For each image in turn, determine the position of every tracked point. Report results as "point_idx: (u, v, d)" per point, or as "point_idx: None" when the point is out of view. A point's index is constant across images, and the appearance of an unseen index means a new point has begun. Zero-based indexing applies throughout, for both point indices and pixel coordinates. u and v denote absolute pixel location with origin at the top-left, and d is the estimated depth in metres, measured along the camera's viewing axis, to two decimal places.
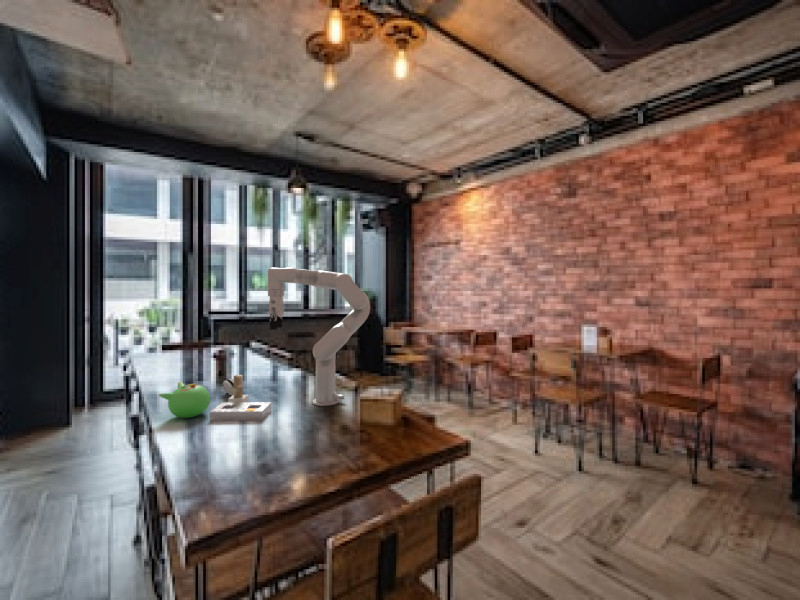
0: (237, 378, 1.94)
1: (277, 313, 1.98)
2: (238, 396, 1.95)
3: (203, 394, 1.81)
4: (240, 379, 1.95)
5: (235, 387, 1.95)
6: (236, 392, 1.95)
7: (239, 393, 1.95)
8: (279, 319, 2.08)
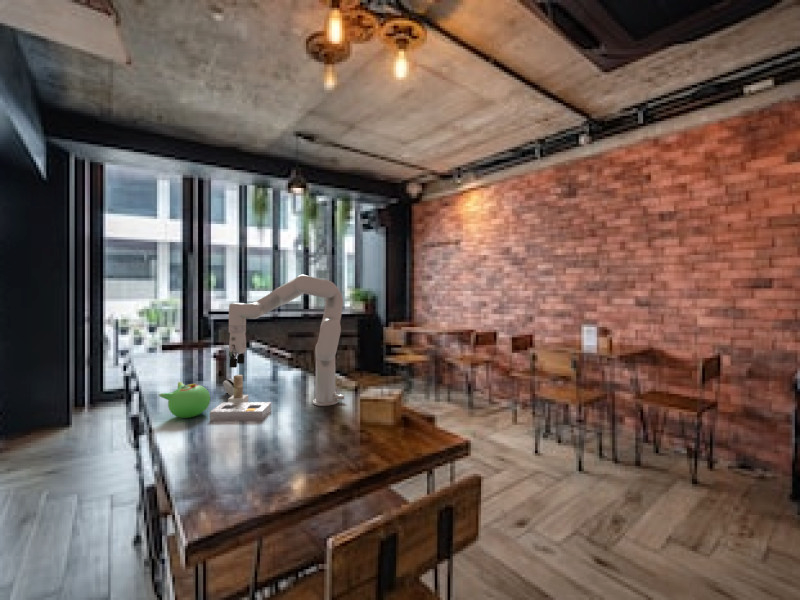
0: (237, 378, 1.94)
1: (237, 350, 1.91)
2: (238, 396, 1.95)
3: (203, 394, 1.81)
4: (240, 379, 1.95)
5: (235, 387, 1.95)
6: (236, 392, 1.95)
7: (239, 393, 1.95)
8: (241, 355, 2.01)
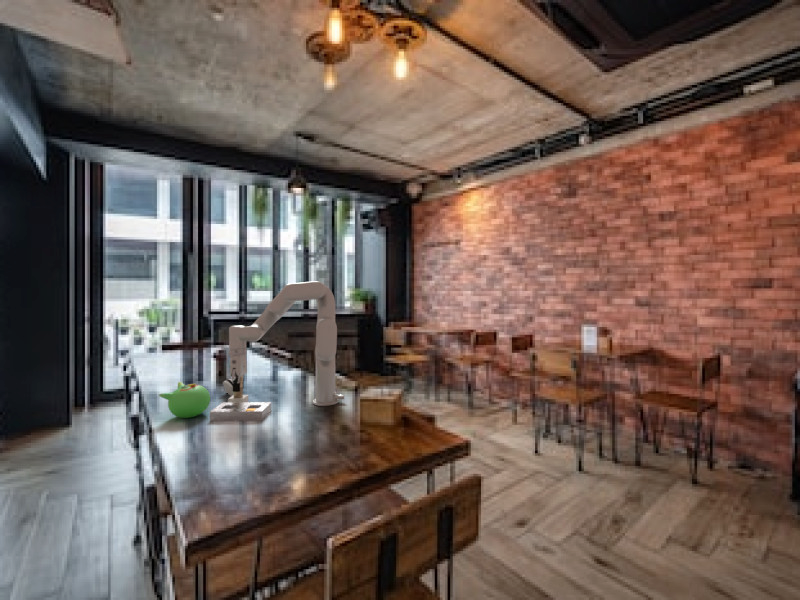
0: None
1: (238, 373, 1.91)
2: (238, 396, 1.95)
3: (203, 394, 1.81)
4: (240, 379, 1.95)
5: None
6: (236, 392, 1.95)
7: (239, 393, 1.95)
8: None
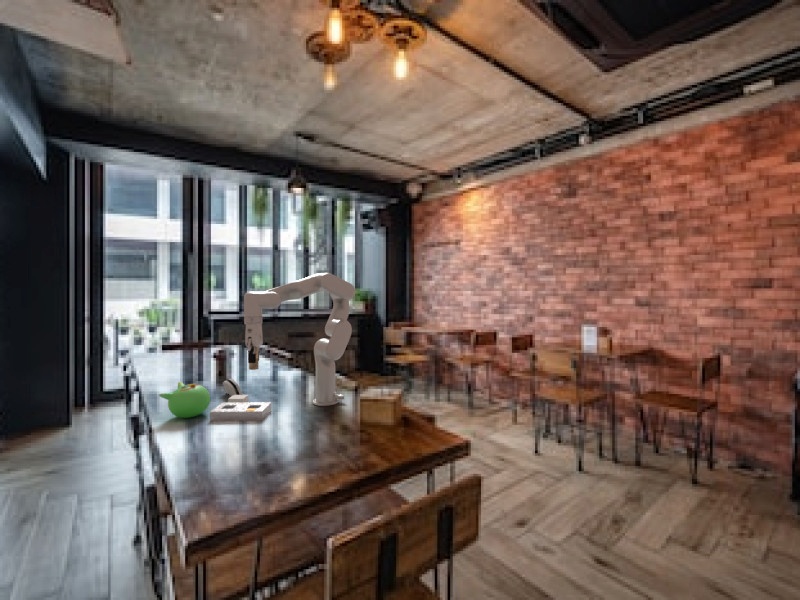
0: (252, 348, 1.81)
1: (254, 343, 1.78)
2: (254, 368, 1.82)
3: (203, 394, 1.81)
4: (256, 350, 1.82)
5: None
6: (251, 363, 1.82)
7: (254, 364, 1.82)
8: None
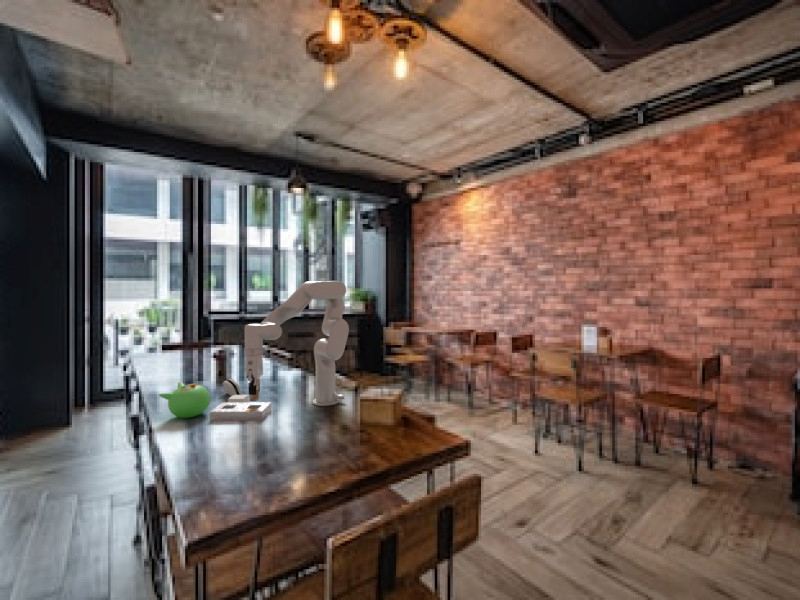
0: (253, 380, 1.82)
1: (255, 375, 1.79)
2: (254, 399, 1.82)
3: (203, 394, 1.81)
4: (256, 381, 1.83)
5: None
6: (252, 395, 1.82)
7: (255, 396, 1.82)
8: None
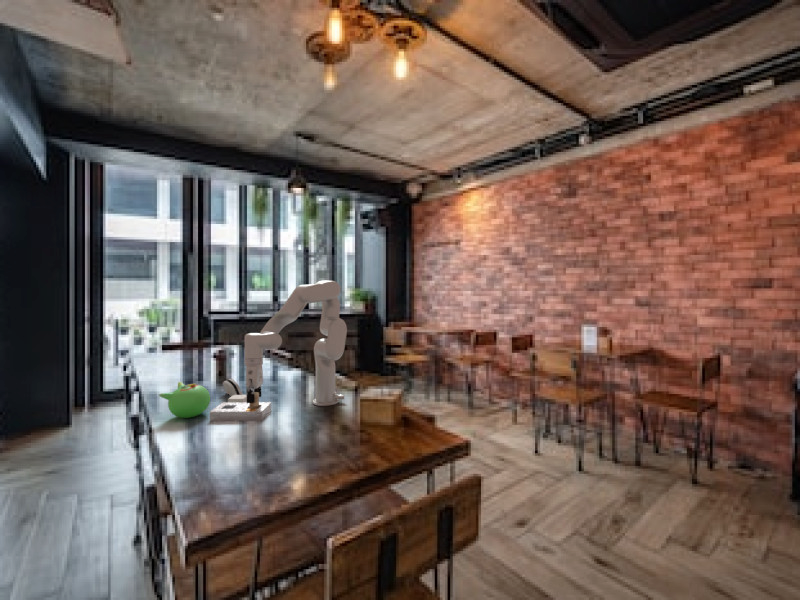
0: None
1: (255, 385, 1.79)
2: None
3: (203, 394, 1.81)
4: (256, 397, 1.83)
5: (251, 405, 1.82)
6: None
7: None
8: (258, 388, 1.89)
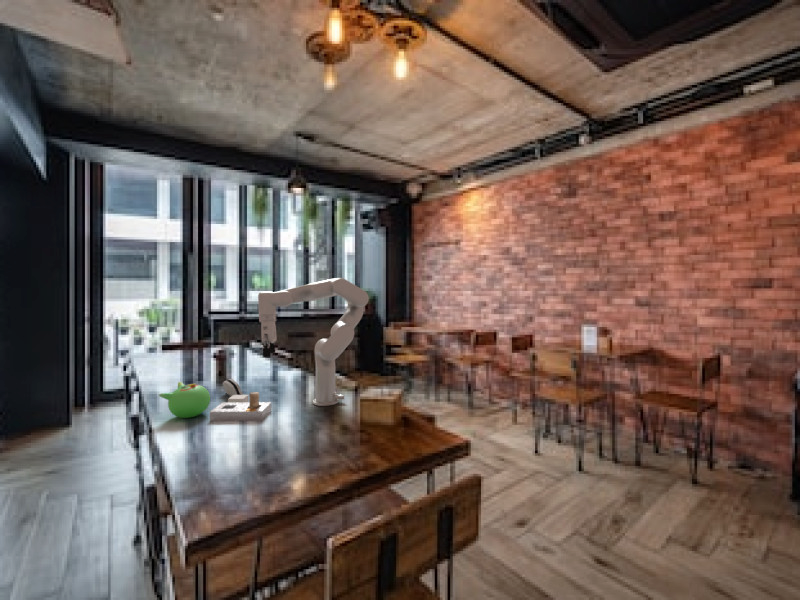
0: (253, 396, 1.82)
1: (270, 340, 1.89)
2: None
3: (203, 394, 1.81)
4: (256, 397, 1.83)
5: (251, 405, 1.82)
6: None
7: None
8: (272, 344, 1.98)
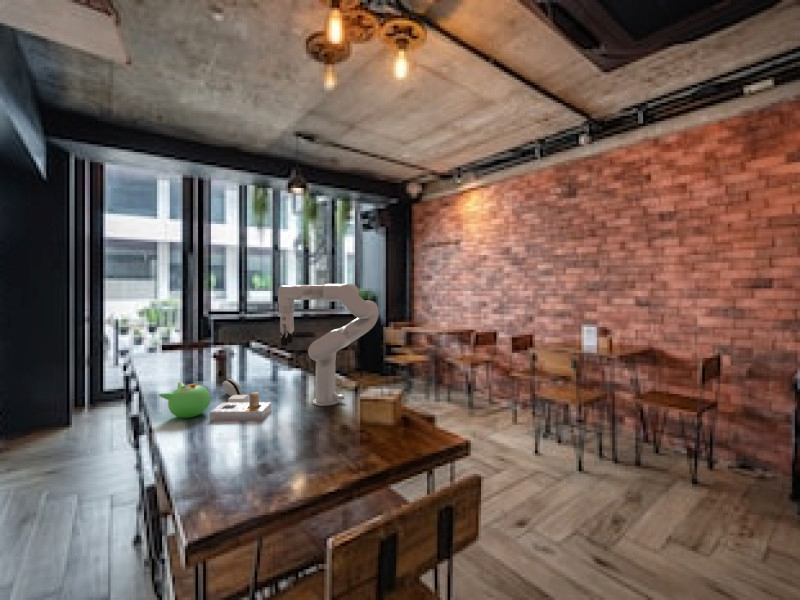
0: (253, 396, 1.82)
1: (288, 330, 2.03)
2: None
3: (203, 394, 1.81)
4: (256, 397, 1.83)
5: (251, 405, 1.82)
6: None
7: None
8: (289, 335, 2.13)
